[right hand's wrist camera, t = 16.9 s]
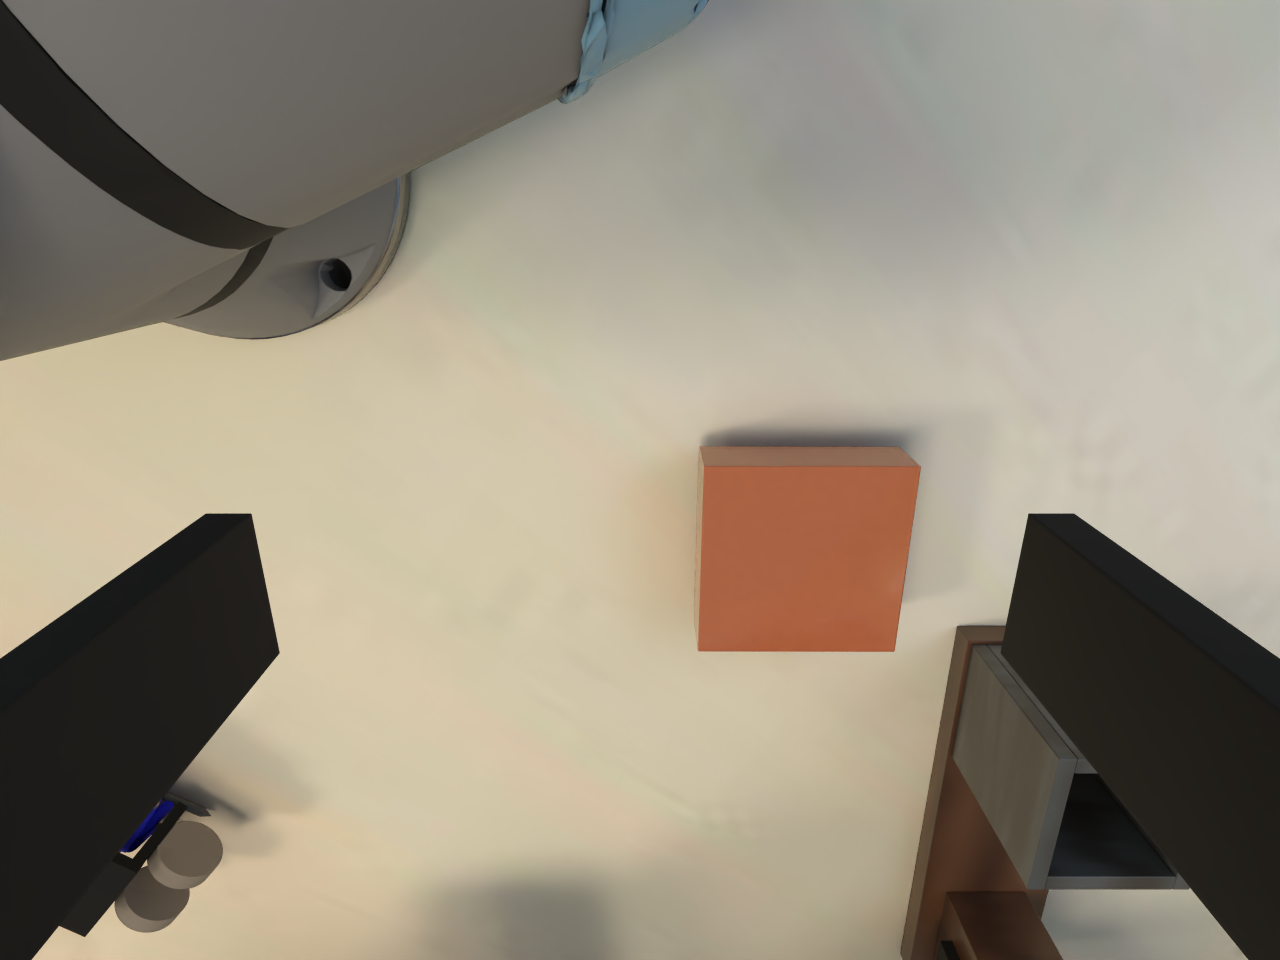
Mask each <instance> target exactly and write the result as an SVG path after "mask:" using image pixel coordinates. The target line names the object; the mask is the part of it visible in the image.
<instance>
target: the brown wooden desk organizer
mask: <svg viewBox="0 0 1280 960" xmlns="http://www.w3.org/2000/svg"><path fill="white" fill-rule="evenodd" d="M1005 628H1006V626H957V631H956V637H955V643H954V648H953V654H952V660H951V666H950V671H949V677H948V683H947V689H946V694H945V700H944V706H943V712H942V717H941V723H940V729H939V735H938V740H937V746H936V752H935V758H934V763H933V769H932V775H931V781H930V786H929V792H928V798H927V804H926V810H925V815H924V821H923V827H922V833H921V838H920V844H919V850H918V856H917V861H916V867H915V873H914V879H913V884H912V890H911V896H910V902H909V907H908V913H907V919H906V925H905V930H904V936H903V942H902V948H901V956H902V959H903V960H936V959H937V954H938V949H939V944H940V941H952V942H953V944H954V947H955V949H956V951H957V954H958V956H959V958H960V960H1063V959H1062V957H1061V955H1060V953H1059V952H1058V950H1057V948H1056V946H1055V944H1054V943H1053V941H1052V939H1051V937H1050V936H1049V934H1048V932H1047V930H1046V928H1045V927H1044V925H1043V923H1042V921H1041V917H1042V913H1043V910H1044V906H1045V902H1046V898H1047V894H1048V891H1049V889H1189V888H1190V887H1189V886H1188V884H1187V883H1186V882H1185V881H1184V879H1183V878H1182V877H1181V876H1180V874H1179V873H1178V872H1177V871H1176V869H1175V868H1174V867H1173V866H1172V865H1171V863H1170V862H1169V861H1168V860H1167V858H1166V857H1165V856H1164V855H1163V853H1162V852H1161V851H1160V850H1159V848H1158V847H1157V846H1156V845H1155V844H1154V842H1153V841H1152V840H1151V839H1150V837H1149V836H1148V835H1147V834H1146V832H1145V831H1144V830H1143V829H1142V827H1141V826H1140V825H1139V824H1138V822H1137V821H1136V820H1135V819H1134V818H1133V816H1132V815H1131V814H1130V813H1129V811H1128V810H1127V809H1126V808H1125V806H1124V805H1123V804H1122V803H1121V801H1120V800H1119V799H1118V798H1117V797H1116V795H1115V794H1114V793H1113V792H1112V790H1111V789H1110V788H1109V787H1108V785H1107V784H1106V783H1105V782H1104V780H1103V779H1102V778H1101V777H1100V776H1099V774H1098V773H1097V772H1096V771H1095V769H1094V768H1093V767H1092V766H1091V764H1090V763H1089V762H1088V761H1087V759H1086V758H1085V757H1084V756H1083V755H1082V753H1081V752H1080V751H1079V750H1078V748H1077V747H1076V746H1075V745H1074V743H1073V742H1072V741H1071V740H1070V738H1069V737H1068V736H1067V735H1066V734H1065V732H1064V731H1063V730H1062V729H1061V727H1060V726H1059V725H1058V724H1057V722H1056V721H1055V720H1054V719H1053V717H1052V716H1051V715H1050V714H1049V713H1048V711H1047V710H1046V709H1045V708H1044V706H1043V705H1042V704H1041V703H1040V701H1039V700H1038V699H1037V698H1036V696H1035V695H1034V694H1033V693H1032V692H1031V690H1030V689H1029V688H1028V687H1027V685H1026V684H1025V683H1024V682H1023V680H1022V679H1021V678H1020V677H1019V675H1018V674H1017V673H1016V672H1015V670H1014V669H1013V668H1012V667H1011V666H1010V664H1009V663H1008V662H1007V661H1006V659H1005V658H1004V657H1003V656H1002V654H1001V653H1000V652H1001V647H1002V643H1003V638H1004V633H1005Z"/></svg>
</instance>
